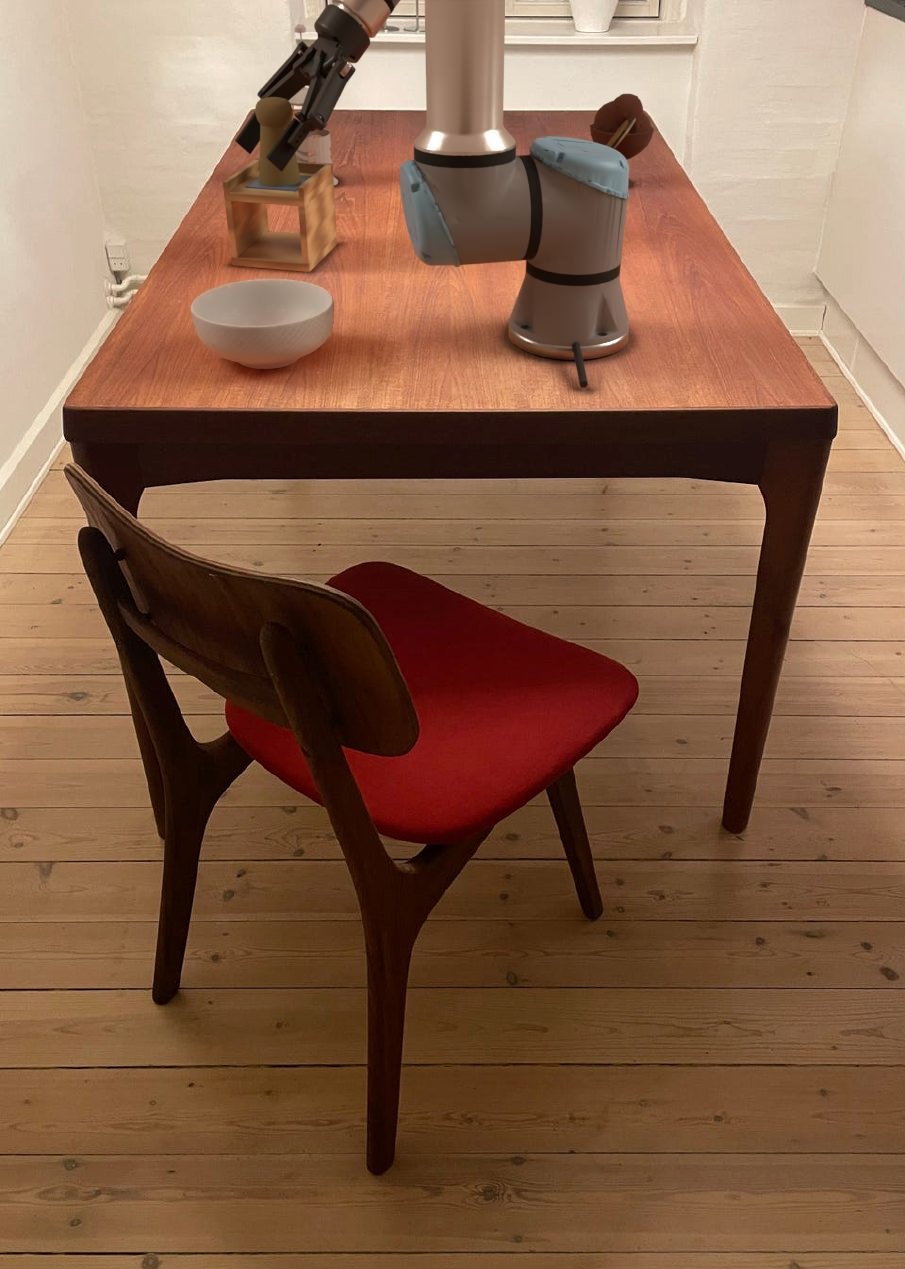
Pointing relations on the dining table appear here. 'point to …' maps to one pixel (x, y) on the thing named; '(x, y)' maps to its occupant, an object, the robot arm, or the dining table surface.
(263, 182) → the olive pawn piece
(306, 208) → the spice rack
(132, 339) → the dining table surface
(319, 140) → the french press
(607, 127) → the ice cream bowl
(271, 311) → the cereal bowl
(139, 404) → the dining table surface
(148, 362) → the dining table surface
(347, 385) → the dining table surface
